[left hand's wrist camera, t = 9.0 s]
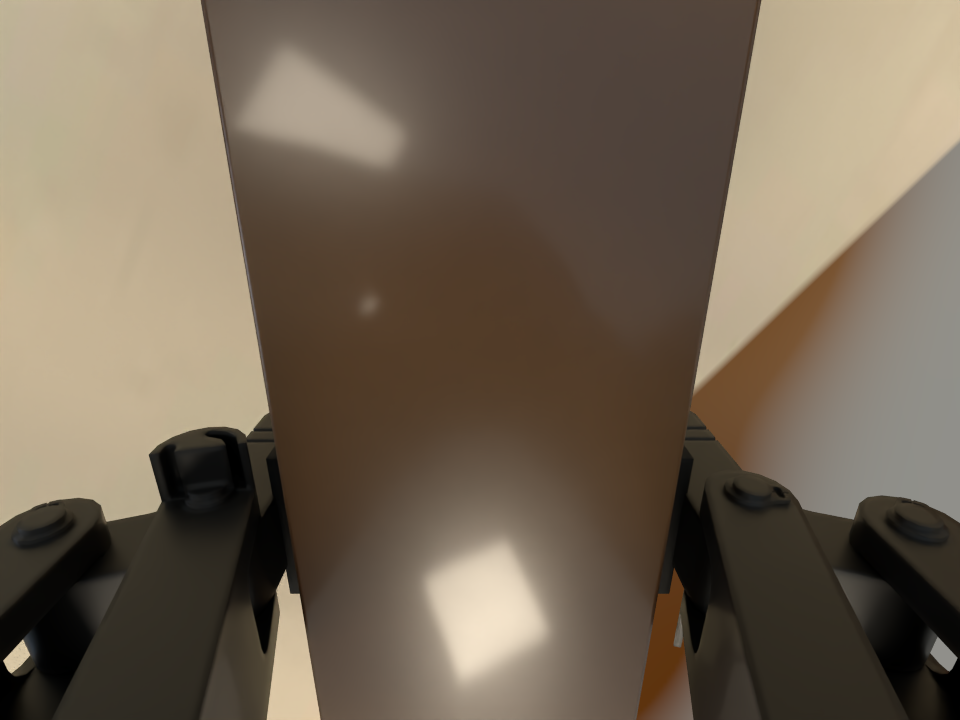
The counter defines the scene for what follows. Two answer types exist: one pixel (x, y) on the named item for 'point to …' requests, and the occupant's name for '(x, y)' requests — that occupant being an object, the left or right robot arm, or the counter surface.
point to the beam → (479, 326)
